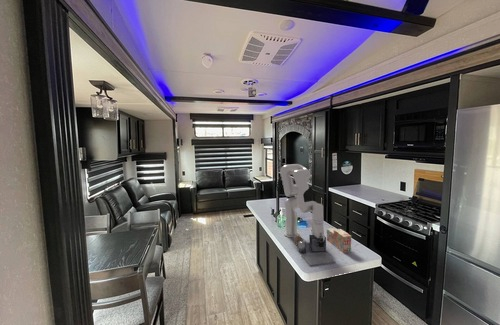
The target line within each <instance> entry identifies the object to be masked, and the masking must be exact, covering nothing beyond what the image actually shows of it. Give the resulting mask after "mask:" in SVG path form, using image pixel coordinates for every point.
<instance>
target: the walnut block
mask: <svg viewBox="0 0 500 325" xmlns="http://www.w3.org/2000/svg"><path fill="white" fill-rule="evenodd" d="M293 239H294V245H295V246H296V247H299V243H298V242H299V241H304V238H302V237H301V236H298V237H293Z"/></svg>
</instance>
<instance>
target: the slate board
mask: <svg viewBox="0 0 500 325" xmlns="http://www.w3.org/2000/svg"><path fill="white" fill-rule="evenodd" d="M301 257H302V259H303V260H304V261H305V262H306V264H307V265H308V266H309V267H316V266H322V265H330V264H331V265H332V264H336V260H334V258H333V257H332V256H331V255H329V254H328V253H327V251H326V252H310V253H301Z"/></svg>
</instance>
